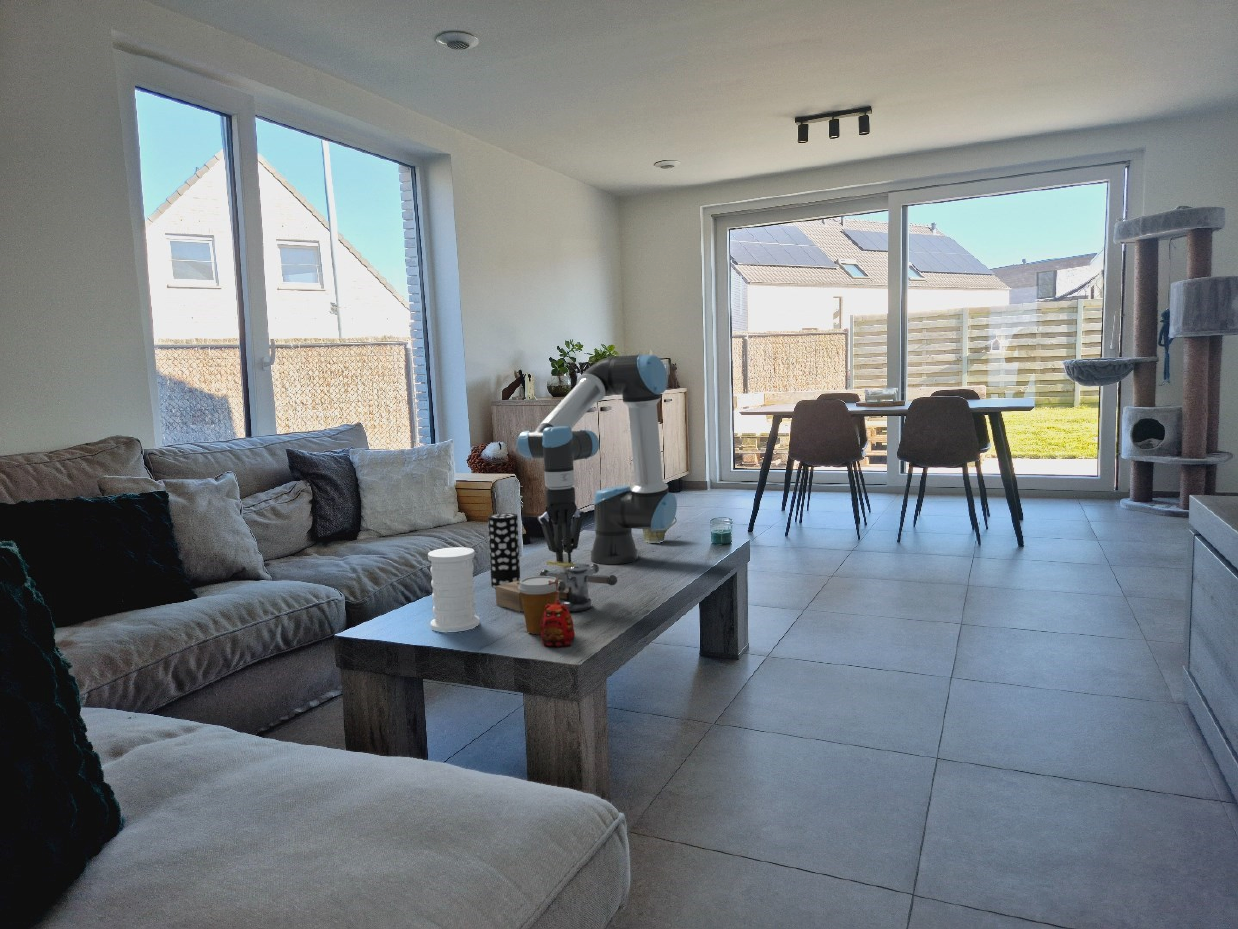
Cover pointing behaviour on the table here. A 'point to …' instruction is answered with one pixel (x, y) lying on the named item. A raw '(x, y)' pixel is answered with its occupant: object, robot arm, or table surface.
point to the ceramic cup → (655, 534)
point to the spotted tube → (504, 548)
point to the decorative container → (453, 589)
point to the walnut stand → (516, 595)
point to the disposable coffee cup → (536, 599)
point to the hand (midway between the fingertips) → (564, 577)
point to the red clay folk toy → (557, 623)
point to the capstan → (577, 583)
